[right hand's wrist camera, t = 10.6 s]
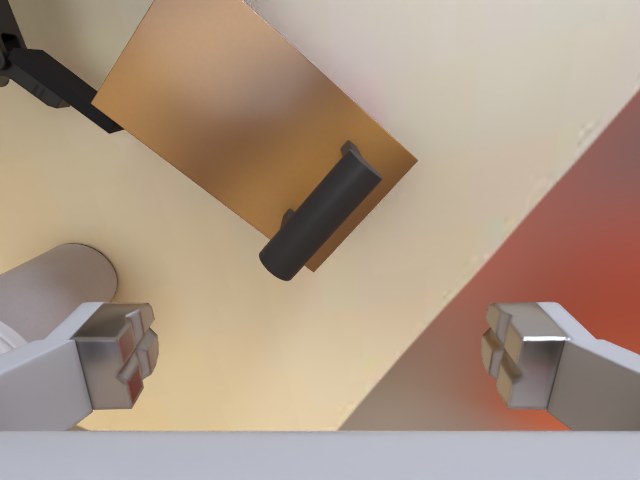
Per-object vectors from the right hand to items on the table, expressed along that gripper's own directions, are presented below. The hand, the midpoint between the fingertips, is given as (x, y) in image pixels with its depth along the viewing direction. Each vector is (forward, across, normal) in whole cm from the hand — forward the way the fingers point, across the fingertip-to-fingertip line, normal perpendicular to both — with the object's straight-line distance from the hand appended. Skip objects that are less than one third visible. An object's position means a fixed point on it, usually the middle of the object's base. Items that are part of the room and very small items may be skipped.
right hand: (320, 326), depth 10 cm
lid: (+16, -3, +3) cm, 17 cm away
